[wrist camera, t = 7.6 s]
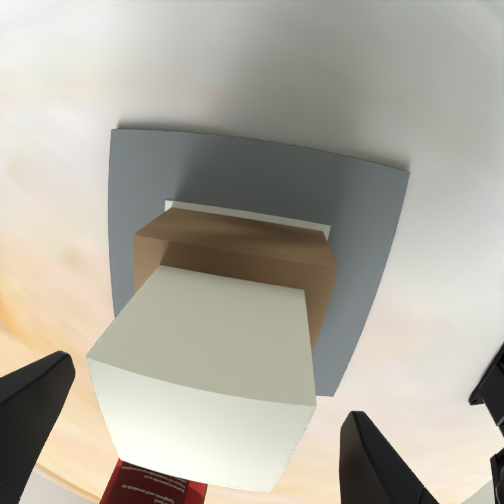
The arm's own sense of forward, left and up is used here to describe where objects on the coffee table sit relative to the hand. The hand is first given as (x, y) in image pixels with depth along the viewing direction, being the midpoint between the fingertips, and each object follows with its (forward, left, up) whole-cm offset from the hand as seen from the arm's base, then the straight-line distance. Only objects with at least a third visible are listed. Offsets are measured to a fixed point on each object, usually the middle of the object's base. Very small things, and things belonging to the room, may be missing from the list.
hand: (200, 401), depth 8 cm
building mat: (0, 0, -8) cm, 8 cm away
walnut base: (0, 0, -7) cm, 7 cm away
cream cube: (0, 0, -3) cm, 3 cm away
